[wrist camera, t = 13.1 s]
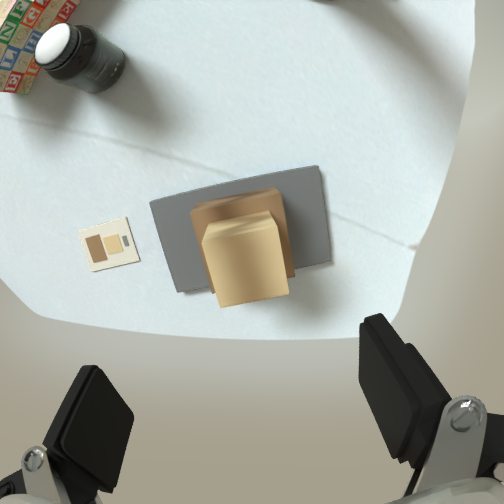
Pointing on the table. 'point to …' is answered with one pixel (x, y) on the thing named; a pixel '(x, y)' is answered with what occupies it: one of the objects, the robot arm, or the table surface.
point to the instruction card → (108, 244)
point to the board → (286, 182)
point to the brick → (241, 207)
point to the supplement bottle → (79, 57)
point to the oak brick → (245, 259)
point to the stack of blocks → (26, 38)
